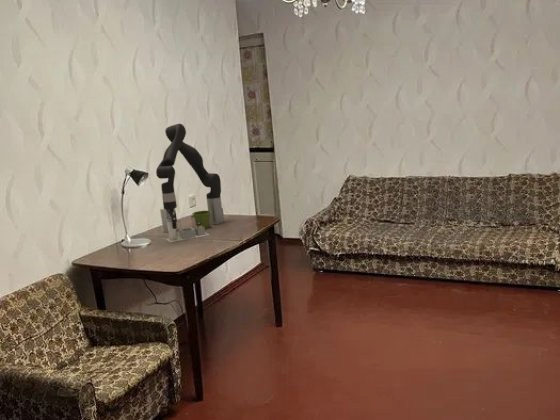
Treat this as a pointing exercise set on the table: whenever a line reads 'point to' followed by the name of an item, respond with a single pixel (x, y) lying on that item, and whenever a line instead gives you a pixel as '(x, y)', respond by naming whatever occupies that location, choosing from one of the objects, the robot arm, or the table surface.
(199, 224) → the plunger
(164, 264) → the table surface
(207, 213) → the plant pot
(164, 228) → the skincare box
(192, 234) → the housing
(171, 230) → the cartridge
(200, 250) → the table surface
